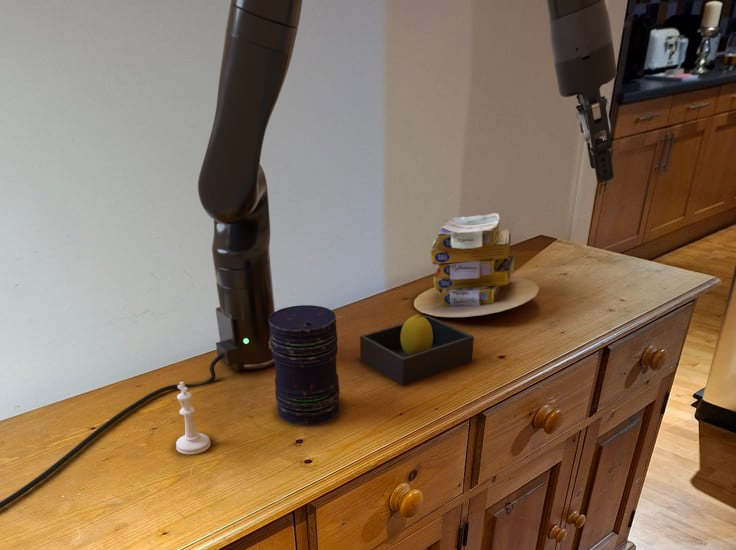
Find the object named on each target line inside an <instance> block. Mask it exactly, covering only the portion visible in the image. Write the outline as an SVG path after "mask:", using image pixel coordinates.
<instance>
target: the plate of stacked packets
mask: <svg viewBox="0 0 736 550" xmlns="http://www.w3.org/2000/svg"><path fill="white" fill-rule="evenodd" d="M501 225H502V222H501V217H500V214H499V213H498V212H492V213H490V214H484V213H481V214H475V215H474V214H473V215H464V214H463V213H462V215H461V216H455V217H453V218H451V217H450V218H446V219H445V220H444V222H443V223H442V225H441V226H440V227H439V231H438V233H437V237H436V239H435V240H434V241H433V243H432V246H431V248H430V256H431V257H430V258H431V264H432V265H438V267H437V269H436V270H435V272H434V275H432V278H433V279H432V280H433V286H434V287H431V288H429V289H427V290H425V291H423V292H422V293H420V294H419V295H418V296H417V297H416V298H415V299H414V301H413V306H414V308H415V309H416V310H417V311H419V312H420V313H422V314H426V315H428V316H434V317H441V318H466V317H469V318H470V317H476V316H485V315H489V314H494V313H500V312H503V311H506V310H510V309H513V308H516V307H518V306H521V305H523V304H526V303H527V302H529V301H530V300H532V299H533V298H535V297H536V296H537V295H538V293H539V291H540V288H539V286H538V284H537V283H536V282H534V281H532V280H530V279H528V278H523V277H518V276H513V274H514V271H515V256H516V253H513V254H512V255H510V254H511V252H510V249H511V243H512V237H511V236H512V231H511V230H509V229H503V230H500V226H501Z"/></svg>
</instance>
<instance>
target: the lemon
mask: <svg viewBox="0 0 736 550" xmlns="http://www.w3.org/2000/svg"><path fill="white" fill-rule="evenodd" d="M424 317H425V316H421V315H420V314H419V313H418V314H415V315H413V316H410V317H409V318H408V319H406V321H405V322H403V323H404V325H403V327H402V331H401V337H400V340H401V346H402V348H403V350H404V352H405V353H406V354H408V355H409V356H411V355H414V354H417V353H420V352H423V351H426V350H429V349H430V348H431V345H432V342H433V332H432V327H431V324H430V323H429V321H428V320H427V319H425V318H424Z"/></svg>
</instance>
